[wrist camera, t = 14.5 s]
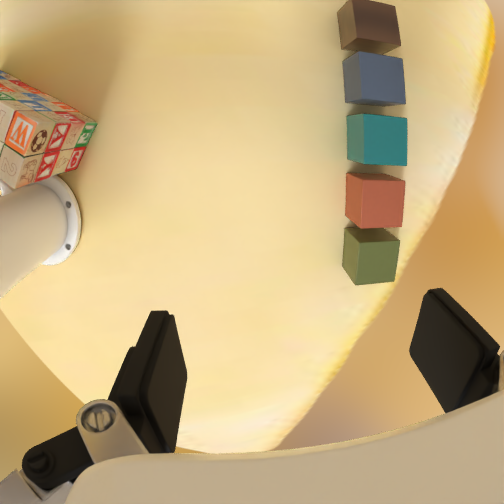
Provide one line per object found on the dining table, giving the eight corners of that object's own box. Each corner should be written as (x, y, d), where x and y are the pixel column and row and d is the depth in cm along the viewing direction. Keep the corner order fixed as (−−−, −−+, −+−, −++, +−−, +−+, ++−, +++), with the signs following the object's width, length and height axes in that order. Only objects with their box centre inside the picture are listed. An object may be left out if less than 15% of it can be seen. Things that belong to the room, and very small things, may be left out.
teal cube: (347, 159, 31) (363, 164, 27) (346, 115, 30) (363, 113, 25) (386, 160, 32) (407, 166, 27) (386, 118, 30) (407, 118, 25)
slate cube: (342, 61, 27) (358, 50, 23) (382, 66, 27) (402, 58, 23) (344, 102, 29) (361, 98, 24) (384, 106, 29) (406, 104, 24)
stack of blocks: (-17, 109, 26) (-76, 115, 14) (-1, 69, 24) (-60, 64, 12) (77, 169, 31) (13, 191, 19) (99, 122, 29) (36, 123, 17)
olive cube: (344, 227, 34) (359, 242, 30) (381, 226, 35) (400, 240, 30) (341, 266, 36) (355, 285, 32) (378, 263, 36) (394, 281, 32)
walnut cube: (337, 12, 25) (351, -4, 20) (376, 19, 25) (395, 6, 20) (341, 49, 27) (356, 37, 22) (381, 55, 27) (401, 45, 22)
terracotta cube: (346, 172, 32) (362, 179, 27) (385, 173, 32) (405, 180, 27) (345, 215, 34) (360, 228, 29) (382, 214, 34) (402, 227, 29)
